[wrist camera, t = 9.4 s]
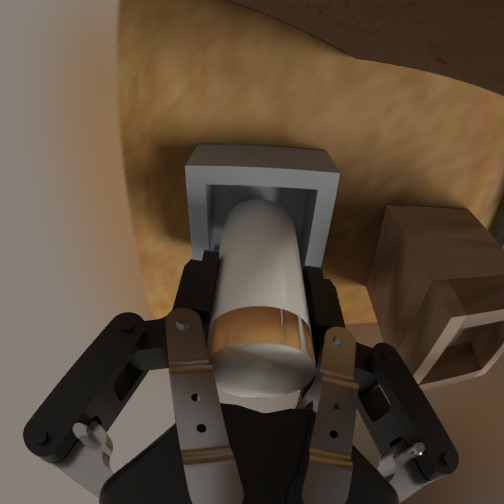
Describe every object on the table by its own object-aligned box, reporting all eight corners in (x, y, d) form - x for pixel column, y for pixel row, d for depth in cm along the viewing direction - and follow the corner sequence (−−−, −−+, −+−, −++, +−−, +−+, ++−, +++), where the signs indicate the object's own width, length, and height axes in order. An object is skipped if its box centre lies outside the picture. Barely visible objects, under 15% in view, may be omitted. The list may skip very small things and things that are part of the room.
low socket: (197, 144, 17) (185, 165, 14) (326, 150, 17) (340, 173, 14) (203, 247, 22) (195, 281, 19) (309, 252, 22) (316, 286, 19)
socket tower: (386, 205, 19) (451, 317, 11) (468, 209, 19) (540, 301, 11) (365, 286, 24) (398, 395, 16) (440, 282, 23) (483, 374, 16)
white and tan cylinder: (212, 209, 16) (181, 351, 9) (285, 191, 16) (306, 332, 8) (236, 264, 19) (225, 402, 12) (300, 250, 18) (322, 389, 11)
